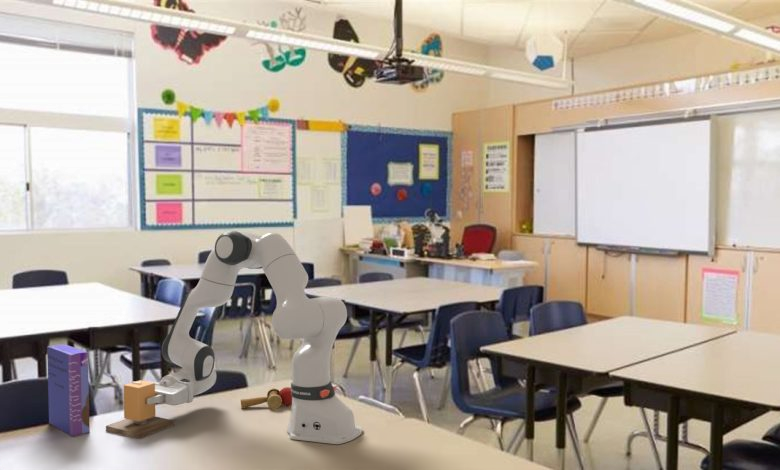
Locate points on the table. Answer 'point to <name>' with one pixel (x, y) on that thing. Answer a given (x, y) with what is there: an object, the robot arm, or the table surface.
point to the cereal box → (68, 389)
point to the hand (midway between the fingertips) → (137, 399)
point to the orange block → (138, 400)
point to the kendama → (271, 399)
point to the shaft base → (139, 426)
